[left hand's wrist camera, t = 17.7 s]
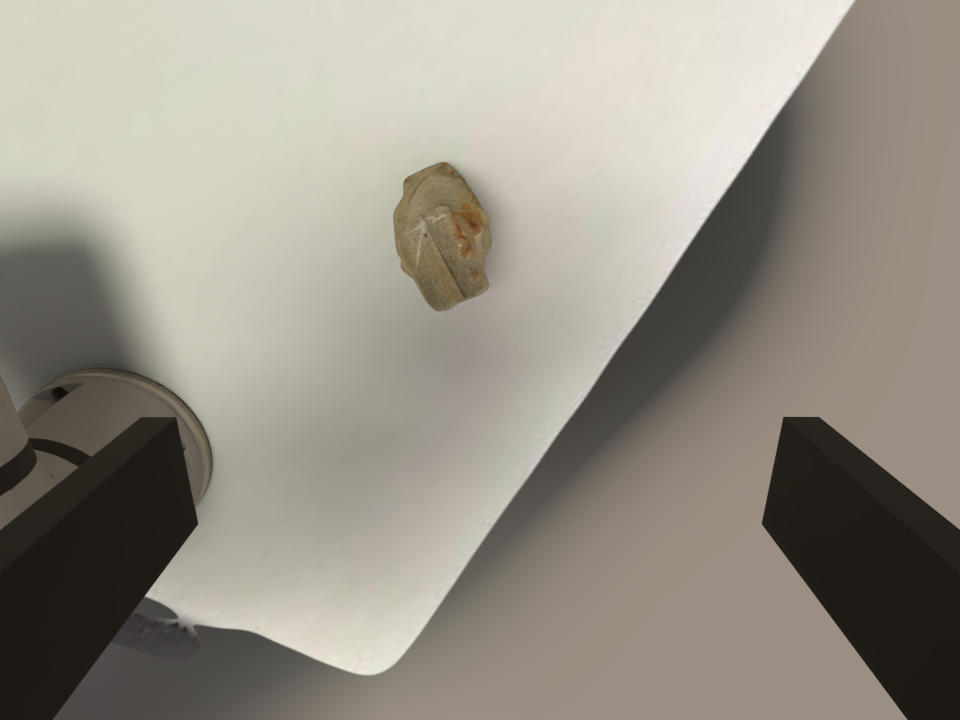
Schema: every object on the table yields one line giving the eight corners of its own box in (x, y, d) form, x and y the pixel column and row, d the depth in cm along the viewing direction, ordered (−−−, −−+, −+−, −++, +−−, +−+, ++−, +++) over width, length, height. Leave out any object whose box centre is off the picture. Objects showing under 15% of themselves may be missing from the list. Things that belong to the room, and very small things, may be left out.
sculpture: (431, 273, 44) (408, 333, 30) (392, 181, 42) (348, 199, 28) (503, 245, 43) (514, 294, 29) (467, 150, 41) (461, 153, 27)
